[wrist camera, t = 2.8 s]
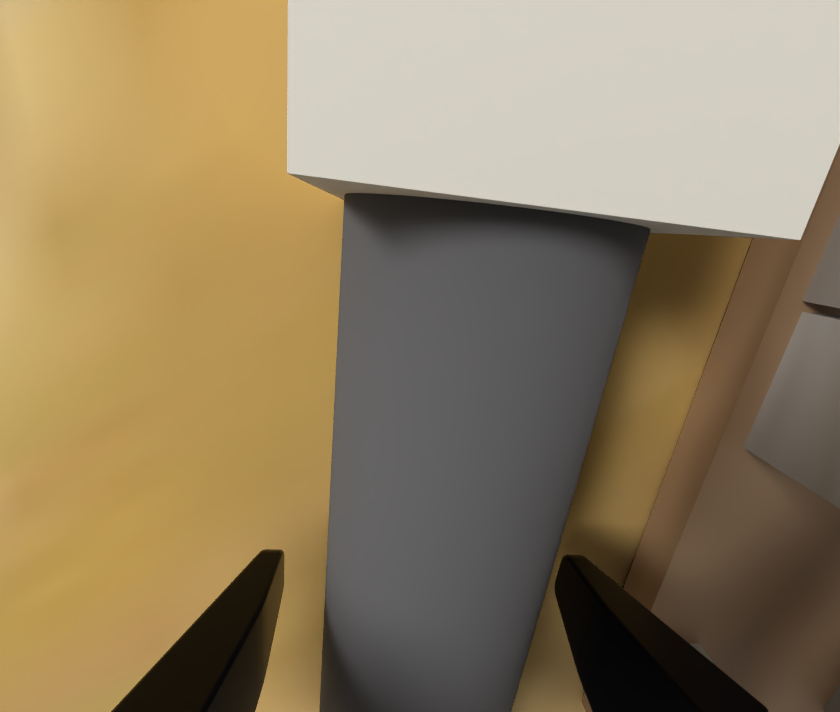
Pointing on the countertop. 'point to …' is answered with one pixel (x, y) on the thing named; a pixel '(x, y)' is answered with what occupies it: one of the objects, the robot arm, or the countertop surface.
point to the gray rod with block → (513, 280)
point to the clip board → (761, 481)
